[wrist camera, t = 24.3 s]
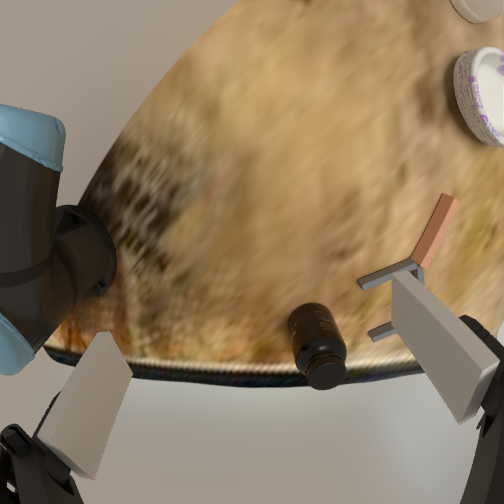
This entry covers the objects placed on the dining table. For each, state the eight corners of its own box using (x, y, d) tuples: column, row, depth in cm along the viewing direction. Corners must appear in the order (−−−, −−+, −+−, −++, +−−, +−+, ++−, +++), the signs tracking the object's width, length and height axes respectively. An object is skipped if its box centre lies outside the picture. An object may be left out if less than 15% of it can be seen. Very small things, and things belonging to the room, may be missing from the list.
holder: (456, 295, 42) (465, 303, 39) (369, 336, 44) (375, 347, 41) (447, 191, 36) (459, 195, 33) (345, 230, 38) (352, 236, 35)
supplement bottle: (278, 317, 42) (288, 373, 31) (319, 293, 41) (343, 345, 30) (300, 347, 44) (314, 403, 33) (339, 326, 43) (363, 378, 32)
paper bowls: (426, 96, 31) (460, 90, 24) (459, 37, 27) (489, 27, 20) (484, 164, 34) (517, 171, 27) (511, 103, 30) (541, 103, 23)
